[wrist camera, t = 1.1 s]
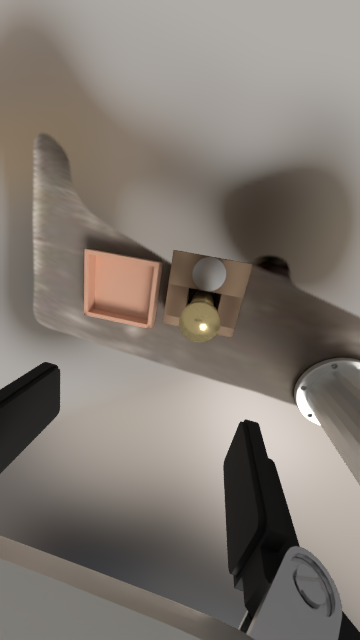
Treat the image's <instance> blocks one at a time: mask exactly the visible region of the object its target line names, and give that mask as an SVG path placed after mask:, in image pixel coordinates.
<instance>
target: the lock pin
mask: <svg viewBox="0 0 360 640" xmlns="http://www.w3.org/2000/svg"><path fill="white" fill-rule="evenodd" d="M179 325H180V329H181V331H182V333H183V334H184V335H185V336H186V337H187V338H188V339H190V340H192V341H195V342H205V341H208V340H210V339H212V338H213V337H214V336H215V335H216V334H217V333H218V331H219V328H220V317H219V313H218V311H217V309H216V308H215V307H214V301H213V296H212V294H211V293H210V292H209V291H204V290H200V291H198V292H196V293H195V294H194V296H193V299H192V301H191V303H190V304H188V305H187V306H186V307H185V308H184V310H183V311H182V313H181V316H180V319H179Z"/></svg>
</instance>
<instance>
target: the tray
mask: <svg viewBox="0 0 360 640" xmlns="http://www.w3.org/2000/svg"><path fill="white" fill-rule="evenodd" d="M162 267H163V262H159V261H154V260H148V259H143V258H137V257H132V256H127V255H121V254H116V253H111V252H105V251H100V250H95V249H85V260H84V315H88V316H92V317H97V318H102V319H106V320H111V321H116V322H120V323H125V324H130V325H134V326H139V327H143V328H148V329H151V328H152V327H153V325H154V324H155V319H156V311H157V304H158V297H159V289H160V282H161V275H162Z"/></svg>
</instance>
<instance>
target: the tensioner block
mask: <svg viewBox="0 0 360 640" xmlns="http://www.w3.org/2000/svg"><path fill="white" fill-rule="evenodd" d="M252 266H253V264H249V263H243V262H237V261H232V260H227V259H221V258H216V257H210V256H205V255H199V254H193V253H187V252H183V251H176V250H174V252H173V259H172V264H171V271H170V278H169V284H168V291H167V298H166V304H165V311H164V318H163V323H166V324H170V325H175V326H180V325H179V319H180V316H181V313H182V311H183V310H184V308H185V307H186V306H187V305H188V300H189V295H190V290H191V288H193V289H199V290H204V291H209V292H214V293H219V297H218V301H217V305H216V309H217V311H218V313H219V317H220V328H219V331H218V333H217V335H222V336H227V337H232V336H233V333H234V329H235V326H236V322H237V319H238V315H239V311H240V308H241V304H242V301H243V297H244V294H245V290H246V287H247V283H248V280H249V276H250V273H251V269H252Z"/></svg>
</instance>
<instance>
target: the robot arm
mask: <svg viewBox="0 0 360 640" xmlns="http://www.w3.org/2000/svg"><path fill="white" fill-rule="evenodd" d="M294 399H295V403H296V405H297V407H298V409H299V410H300V412H301V413H302V414H303V415H304V416H305V417H306V418H307V419H309V420H310V421H312V422H313V423H316V424H319V425H321V426H322V428H323V429H324V431H325V432H326V434H327V435H328V437H329V438H330V440H331V442H332V443H333V445H334V446H335V448H336V449H337V450H338V452H339V454H340V456H341V457H342V458H343V460H344V462H345V463H346V465H347V466H348V468H349V469H350V471H351V472H352V474H353V475H354V477H355V479H356V480H357V482H358V483H359V485H360V360H357V359H352V358H333V359H329V360H325V361H322V362H320V363H317V364H315V365H314V366H312V367H310V368H309V369H308V370H306V371H305V372H304V373H303V374H302V375H301V377H300V378H299V379H298V381H297V383H296V385H295V389H294ZM59 410H60V369H58V366H57V365H55V364H51V363H48V362H44V363H42V364H40V365H39V366H37V367H36V368H34V369H32V370H31V371H29V372H28V373H26V374H25V375H23V376H21V377H20V378H18V379H17V380H15V381H13V382H12V383H10V384H9V385H7V386H5V387H4V388H2V389H1V390H0V473H1V472H2V471H3V470H4V469H5V468H6V467H7V466H8V465H9V464H10V463H11V462H12V461H13V460H14V459H15V458H16V457H17V456H18V455H19V454H20V453H21V452H22V451H23V450H24V449H25V448H26V447H27V446H28V445H29V444H30V443H31V442H32V441H33V440H34V439H35V438H36V437H37V436H38V435H39V434H40V433H41V431H43V429H45V428H46V426H47V425H48V424H49V423H50V422H51V421H52V420H53V419H54V418H55V417H56V416H57V415H58V413H59ZM224 489H225V509H226V530H227V550H228V568H229V572H230V574H232V575H234V588H235V589H239V590H241V591H244V602H245V607H246V608H247V612H246V614H245V616H244V618H243V620H242V622H241V624H240V626H239V628H238V629H236V628H234V627H232V626H230V625H228V624H226V623H224V622H222V621H220V620H218V619H216V618H213V617H211V616H208V615H206V614H203V613H201V612H199V611H196V610H194V609H191V608H189V607H186V606H184V605H182V604H179V603H177V602H174V601H172V600H169V599H167V598H164V597H162V596H159V595H156V594H154V593H151V592H149V591H146V590H143V589H141V588H138V587H135V586H133V585H130V584H128V583H125V582H122V581H120V580H117V579H114V578H112V577H109V576H107V575H104V574H101V573H99V572H96V571H94V570H91V569H88V568H86V567H83V566H80V565H77V564H75V563H72V562H69V561H67V560H64V559H61V558H59V557H56V556H54V555H51V554H48V553H46V552H43V551H40V550H38V549H35V548H32V547H29V546H27V545H24V544H21V543H19V542H16V541H13V540H11V539H8V538H5V537H2V536H0V640H360V632H359V631H358V630H357V629H356V627H355V626H354V625H353V624H352V622H351V621H350V620H349V619H348V618H347V616H346V615H345V614H344V612H343V611H342V605H341V600H340V596H339V593H338V590H337V588H336V585H335V583H334V581H333V579H332V578H331V576H330V574H329V573H328V571H327V569H326V568H325V567H324V566H323V564H322V563H321V562H320V561H319V560H318V559H317V558H316V557H315V556H314V555H313V554H312V553H311V552H309V551H308V550H306V549H304V548H302V547H300V546H299V543H298V540H297V536H296V533H295V530H294V526H293V523H292V519H291V516H290V513H289V509H288V506H287V503H286V499H285V496H284V493H283V489H282V486H281V483H280V479H279V476H278V473H277V470H276V466H275V464H274V462H273V461H272V460H271V459H269V458H268V456H267V453H266V449H265V445H264V442H263V438H262V434H261V431H260V427H259V424H258V423H256V422H253V421H249V420H244V422H240V423H239V426H238V428H237V431H236V433H235V435H234V438H233V440H232V443H231V445H230V448H229V450H228V453H227V455H226V458H225V461H224Z"/></svg>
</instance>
